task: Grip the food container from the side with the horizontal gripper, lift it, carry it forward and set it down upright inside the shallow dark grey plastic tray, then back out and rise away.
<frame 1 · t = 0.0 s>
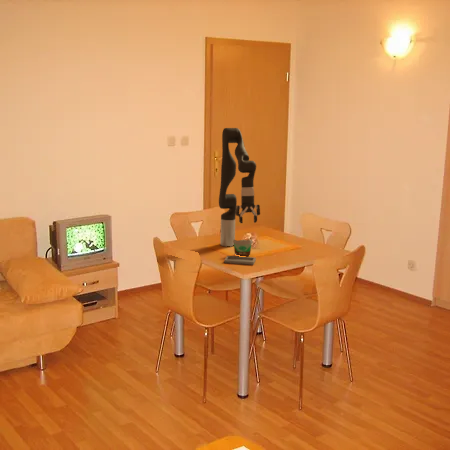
hand: (248, 222, 359), 22 cm above the table, tool pointing down, fingers open, 8 cm apart
food container: (243, 256, 372), on the table
tray: (240, 261, 359), on the table
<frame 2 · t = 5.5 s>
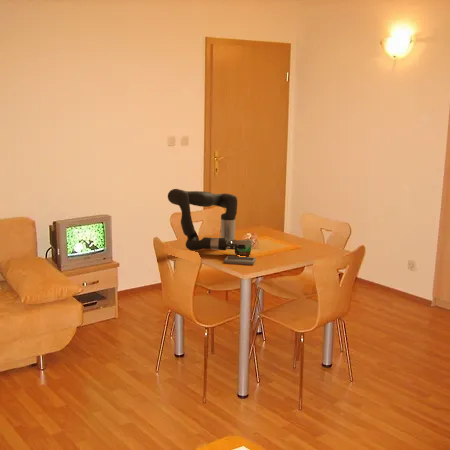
hand: (245, 245, 370), 7 cm above the table, tool horizontal, fingers closed on food container, 7 cm apart
food container: (243, 256, 372), on the table, touching gripper
when the fingers open (8 cm above the table, at t = 12.9 s): food container stays where it is, resting on tray.
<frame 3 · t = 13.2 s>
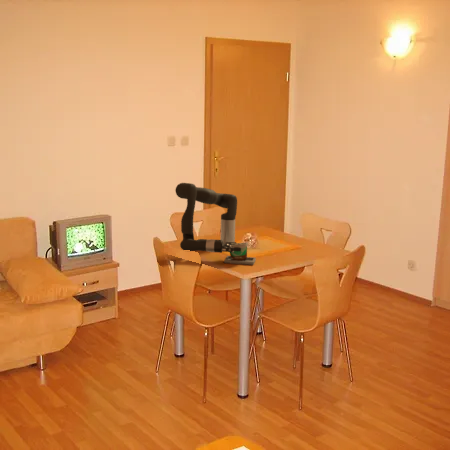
hand: (242, 247, 357), 9 cm above the table, tool horizontal, fingers open, 8 cm apart
food container: (239, 260, 359), point 1 cm above the table, touching gripper, tray
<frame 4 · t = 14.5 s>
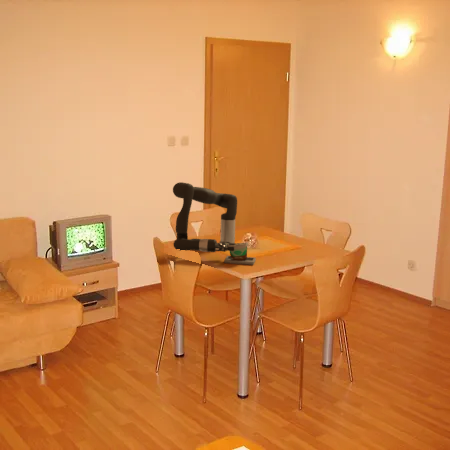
hand: (235, 247, 358), 9 cm above the table, tool horizontal, fingers open, 8 cm apart
food container: (239, 260, 359), point 1 cm above the table, touching tray
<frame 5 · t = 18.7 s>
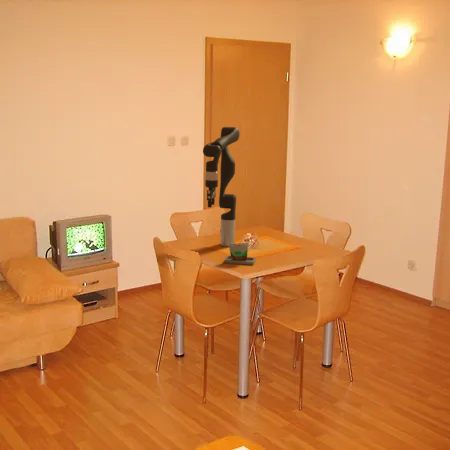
hand: (211, 205, 367), 30 cm above the table, tool pointing down, fingers open, 8 cm apart
nothing on the table moved.
at the end: food container inside the target area on the tray (0.2 cm from its centre), point 0.8 cm above the tray's base; food container tilted 10°; the gripper is holding nothing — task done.
